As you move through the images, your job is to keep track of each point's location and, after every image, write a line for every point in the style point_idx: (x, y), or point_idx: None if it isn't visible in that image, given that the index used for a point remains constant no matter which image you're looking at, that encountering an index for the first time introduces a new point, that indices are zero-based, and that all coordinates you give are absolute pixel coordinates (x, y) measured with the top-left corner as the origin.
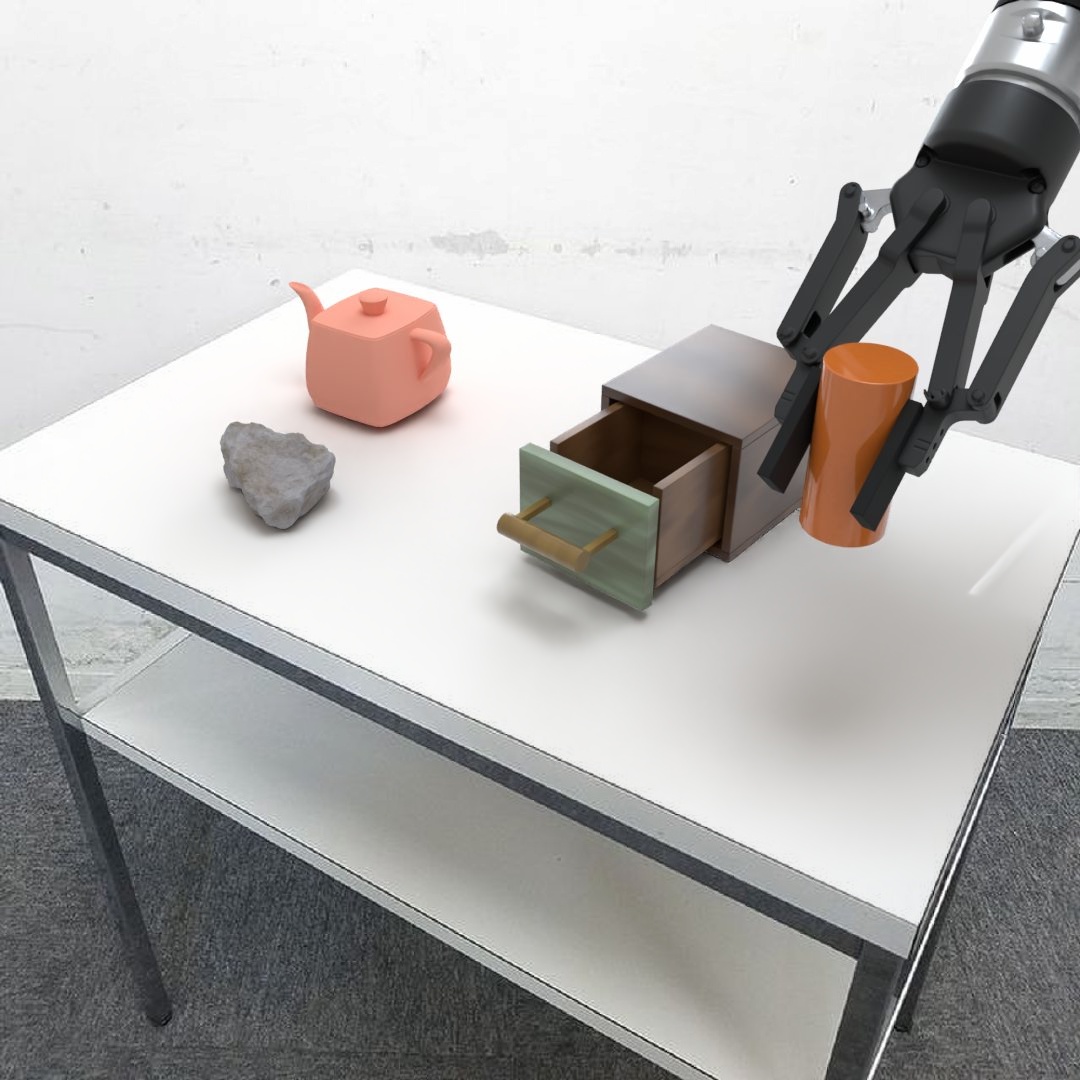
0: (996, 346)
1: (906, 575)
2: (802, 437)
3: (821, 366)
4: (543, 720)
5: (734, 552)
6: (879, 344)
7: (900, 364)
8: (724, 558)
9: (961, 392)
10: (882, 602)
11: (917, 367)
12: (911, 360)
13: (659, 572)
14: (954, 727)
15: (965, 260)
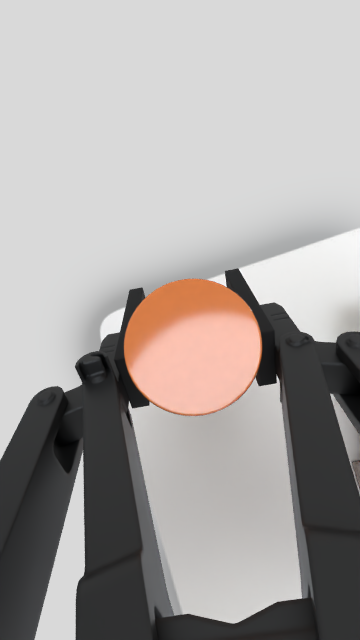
0: (25, 463)
1: (264, 560)
2: None
3: (277, 355)
4: (289, 268)
5: (356, 470)
6: (222, 404)
7: (158, 371)
8: (356, 461)
9: (77, 403)
10: (252, 513)
11: (135, 383)
12: (156, 397)
13: None
14: (148, 439)
15: (118, 617)
